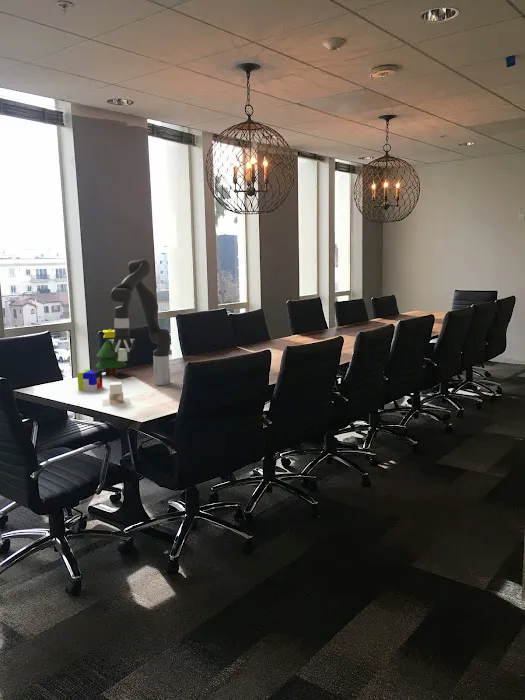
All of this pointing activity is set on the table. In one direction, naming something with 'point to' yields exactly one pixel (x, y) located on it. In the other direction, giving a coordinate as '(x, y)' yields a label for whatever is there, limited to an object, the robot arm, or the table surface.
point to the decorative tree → (109, 355)
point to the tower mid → (115, 388)
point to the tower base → (116, 398)
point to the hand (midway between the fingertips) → (122, 358)
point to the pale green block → (122, 354)
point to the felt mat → (107, 403)
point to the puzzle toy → (90, 380)
